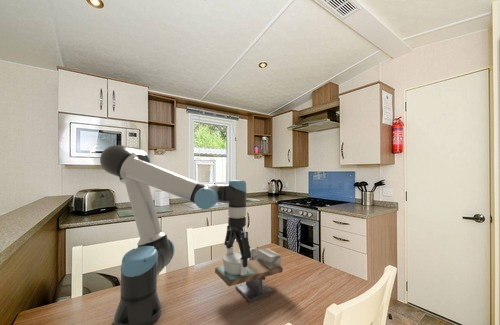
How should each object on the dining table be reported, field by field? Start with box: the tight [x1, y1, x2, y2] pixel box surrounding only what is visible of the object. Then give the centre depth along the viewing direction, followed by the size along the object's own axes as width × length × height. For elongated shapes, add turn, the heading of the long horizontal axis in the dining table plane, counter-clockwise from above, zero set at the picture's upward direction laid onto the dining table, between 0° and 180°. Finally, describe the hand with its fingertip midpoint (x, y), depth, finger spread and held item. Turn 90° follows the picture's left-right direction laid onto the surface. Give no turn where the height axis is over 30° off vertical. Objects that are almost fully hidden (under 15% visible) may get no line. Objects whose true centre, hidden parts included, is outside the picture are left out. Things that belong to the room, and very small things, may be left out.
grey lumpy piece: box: [249, 245, 259, 261], centre depth 126 cm, size 9×8×10 cm
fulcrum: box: [235, 278, 274, 303], centre depth 95 cm, size 12×12×7 cm
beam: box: [214, 247, 284, 287], centre depth 94 cm, size 27×15×8 cm, turn 123°
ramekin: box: [222, 252, 249, 275], centre depth 90 cm, size 11×11×5 cm
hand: (236, 268), depth 90 cm, fingers closed on ramekin, 11 cm apart
